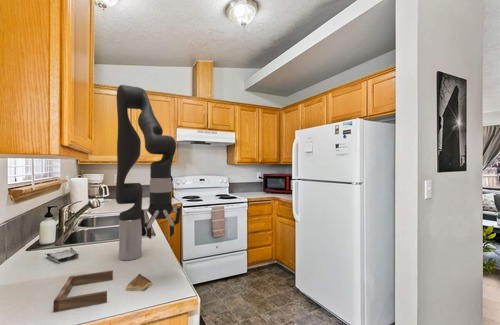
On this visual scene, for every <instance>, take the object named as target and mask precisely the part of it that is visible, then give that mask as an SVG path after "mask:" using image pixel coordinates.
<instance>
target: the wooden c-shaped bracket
mask: <svg viewBox="0 0 500 325" xmlns="http://www.w3.org/2000/svg"><path fill="white" fill-rule="evenodd" d="M113 272H114V270H112V269H111V270H106V271H100V272H99V271H98V272H93V273H92V272H91V273H85V274H79V275H78V274H77V275H70V276H68V278H67V280H66V281H65V283H64V285H63V286H62V287H61V289H60V291H59V293H58V294H57V295H56V297H55V298H54V300H53V302H52V303H53V306H52V308H53V310H52V312H53V313H55V312H56V313H57V312H63V311H67V310H73V309H78V308H83V307H89V306H95V305H101V304H105V303H107V302H108V290H104V291H103V290H102V291H97V292H91V293H85V294H80V295H74V296H69V294H70V292H71V290H72V289H73V287H75V286H83V285H88V284H96V283H102V282H108V281H113V280H114V278H113V277H114V276H113V274H114V273H113Z"/></svg>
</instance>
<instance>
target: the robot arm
mask: <svg viewBox="0 0 500 325" xmlns="http://www.w3.org/2000/svg"><path fill="white" fill-rule="evenodd" d="M128 109H129V110H130V109H131V110H140V111H141V112H140V113H139V115H138V119H137V124H138V127H139V128H140V130H141V133H142V134H143V138H144V148H145V151H147V153H149V154H151V155H162V156H161V158H160V160H156V161H153V162H151V163H150V166H149V167H150V168H149V169H150V170H149V171H150V177H149V178H150V180H149V191H148V192H149V206H148V208H144V209H143V192H144V191H143V185H142V184H141V182H128V183H125V181H126V178H127V176H128V174H129V172H130V171H131V169H132V168H133V166H134V165H135V164H136V162H138V160H139V158H140V156H141V150H142V149H141V148H142V147H141V143H142V142H141V141H142V140H141V137H140V135H139V134H138V132H137V131H136V130H135V128H134V126H133V124H132V122H131V120H130V117H129V113H128V112H129V110H128ZM116 110H117V111H116V112H117V138H116V160H117V161H116V163H117V164H116V165H117V166H116V167H117V168H116V169H117V172H116V182H115V202H116V203H117V204H118V205H129V204H131V205H132V204H133V205H132V206H131V207H130V208H129V209H126V210H124V211H122V212H120V213H119V216H118V218H119V220H118V226H119V230H118V235H119V236H118V238H119V239H118V259H119V260H120V261H133V260H136V259H139V258H141V257H142V250H143V249H142V248H143V247H142V246H143V245H142V244H143V242H142V241H143V240H142V239H143V238H142V237H143V232H142V231H143V230H142V229H143V228H146V237H147V238H148V239H149V240H151V239H152V225H153V224H154V222H155V220H166V219H167V221H168V223H169V237H173V236H174V234H175V226H176V225H179V224H180V219H181V207H180V206H173V205H172V204H173V203H172V202H173V201H172V200H173V199H172V197H173V196H172V195H173V193H172V191H173V187H172V185H173V184H172V165H173V161H174V157H175V154H176V149H177V143H176V140H175V138H174V137H173V136H171V135H164V134H163V133H164V130H163V127H162V125H161V124H160V122H159V121H158V119H157V117H156V116H155V113H154V111H153V108H152V105H151V102H150V99H149V96H148V94H147V92H146V90H145V89H143V88H141V87H138V86H133V85H125V84H120V85H118V87H117V90H116ZM172 212H174V213H175V219H174V220H173V219H172V218H171V216H170V215H171V213H172ZM147 213H149V214H150V219H149V220H148V222H146V220H145V216H146V215H147Z"/></svg>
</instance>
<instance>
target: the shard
mask: <svg viewBox="0 0 500 325" xmlns="http://www.w3.org/2000/svg"><path fill="white" fill-rule="evenodd" d="M151 286H153V282H152V281H151V280H149V279H148V278H147V277H145V276H144V275H142V274H141V273H138V274H137V276H136V277H135V278H133V279H132V280H131V281H130V282H129V283H128V284H127V286H125V291H126V292H139V291H140V292H143V291H144V290H145V289H148V287H151Z"/></svg>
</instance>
